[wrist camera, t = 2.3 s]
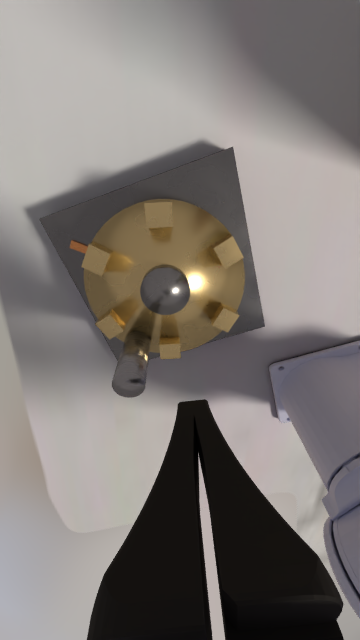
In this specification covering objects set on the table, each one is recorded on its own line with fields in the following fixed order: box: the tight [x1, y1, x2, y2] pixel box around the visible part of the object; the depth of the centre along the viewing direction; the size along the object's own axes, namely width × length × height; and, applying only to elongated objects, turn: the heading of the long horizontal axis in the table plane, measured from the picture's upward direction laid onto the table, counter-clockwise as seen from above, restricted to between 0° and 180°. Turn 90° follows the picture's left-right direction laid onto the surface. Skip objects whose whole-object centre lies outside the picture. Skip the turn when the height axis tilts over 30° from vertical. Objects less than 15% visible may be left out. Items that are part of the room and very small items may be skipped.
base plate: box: [40, 147, 265, 361], centre depth 18 cm, size 12×12×2 cm
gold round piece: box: [81, 199, 245, 397], centre depth 14 cm, size 10×10×6 cm
